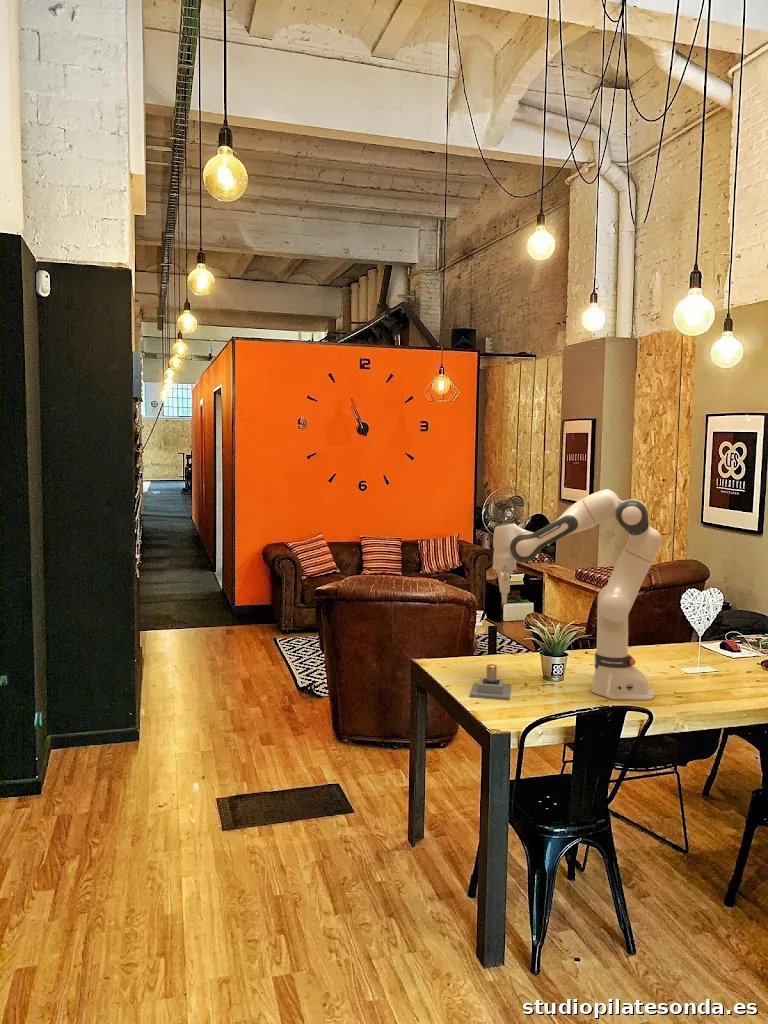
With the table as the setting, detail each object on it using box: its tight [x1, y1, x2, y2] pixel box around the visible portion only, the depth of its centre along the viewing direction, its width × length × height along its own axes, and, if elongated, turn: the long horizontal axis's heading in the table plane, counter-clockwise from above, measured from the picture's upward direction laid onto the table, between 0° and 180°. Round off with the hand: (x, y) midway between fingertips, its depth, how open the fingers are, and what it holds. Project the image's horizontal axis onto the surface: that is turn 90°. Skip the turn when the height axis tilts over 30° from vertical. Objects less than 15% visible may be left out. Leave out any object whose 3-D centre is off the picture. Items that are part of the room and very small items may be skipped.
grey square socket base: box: [469, 677, 512, 701], centre depth 283 cm, size 14×14×4 cm
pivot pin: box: [486, 663, 498, 685], centre depth 283 cm, size 4×4×9 cm
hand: (504, 600), depth 297 cm, fingers open, 8 cm apart
